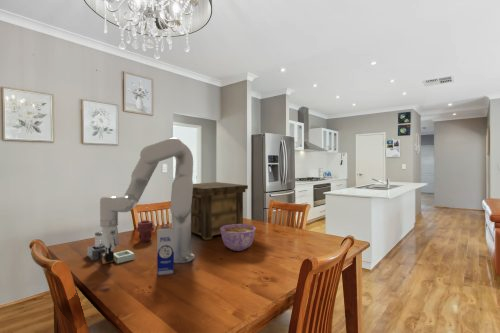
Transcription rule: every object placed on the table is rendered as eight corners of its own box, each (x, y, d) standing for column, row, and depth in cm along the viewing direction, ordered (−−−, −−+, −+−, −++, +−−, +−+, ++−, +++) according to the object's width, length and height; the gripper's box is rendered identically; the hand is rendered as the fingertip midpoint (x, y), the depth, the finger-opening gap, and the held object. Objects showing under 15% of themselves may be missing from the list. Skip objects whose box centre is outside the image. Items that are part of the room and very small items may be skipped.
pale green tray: (134, 259, 133) (134, 253, 133) (117, 263, 127) (117, 257, 127) (128, 255, 139) (128, 249, 139) (111, 259, 133) (111, 253, 133)
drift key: (112, 261, 129) (112, 253, 129) (103, 264, 126) (103, 255, 126) (106, 256, 136) (106, 248, 136) (97, 258, 134) (97, 250, 134)
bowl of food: (252, 256, 138) (252, 233, 138) (215, 253, 142) (215, 231, 142) (258, 244, 158) (258, 224, 157) (226, 242, 162) (226, 223, 161)
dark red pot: (141, 238, 170) (156, 238, 169) (133, 242, 160) (149, 243, 159) (141, 218, 169) (156, 219, 168) (133, 222, 159) (149, 222, 158)
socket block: (111, 255, 138) (111, 247, 138) (92, 260, 131) (92, 251, 131) (106, 251, 144) (106, 243, 144) (87, 255, 138) (87, 247, 138)
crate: (247, 232, 183) (247, 185, 182) (203, 243, 159) (203, 188, 158) (217, 223, 208) (217, 182, 208) (176, 231, 185) (176, 184, 184)
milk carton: (157, 275, 114) (156, 229, 113) (157, 269, 120) (157, 225, 120) (174, 273, 116) (174, 228, 115) (174, 267, 122) (174, 224, 122)
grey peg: (105, 255, 138) (104, 232, 138) (96, 257, 135) (96, 234, 135) (102, 253, 141) (102, 231, 140) (94, 255, 138) (93, 232, 138)
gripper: (123, 223, 123) (123, 263, 124) (112, 218, 134) (112, 255, 134) (105, 226, 118) (105, 267, 118) (95, 221, 129) (96, 258, 129)
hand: (109, 260), depth 126 cm, fingers closed
